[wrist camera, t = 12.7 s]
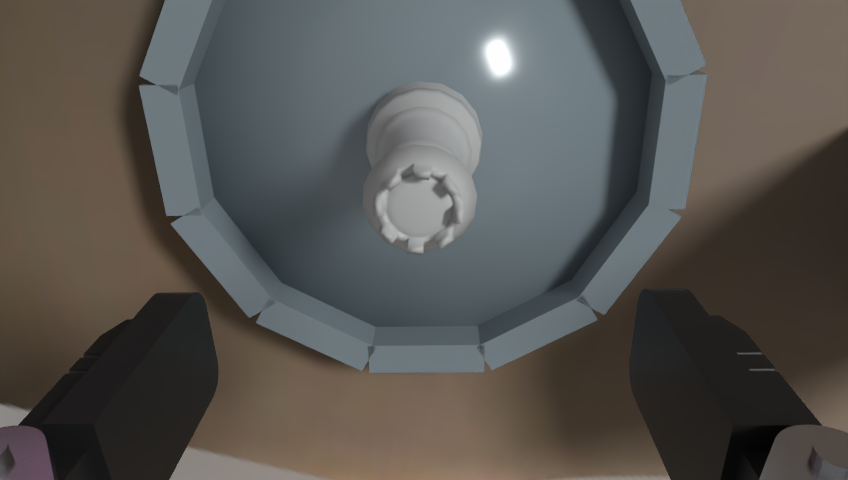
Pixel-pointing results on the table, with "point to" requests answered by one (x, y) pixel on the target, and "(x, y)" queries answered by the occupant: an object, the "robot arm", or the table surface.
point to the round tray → (493, 178)
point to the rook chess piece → (422, 167)
